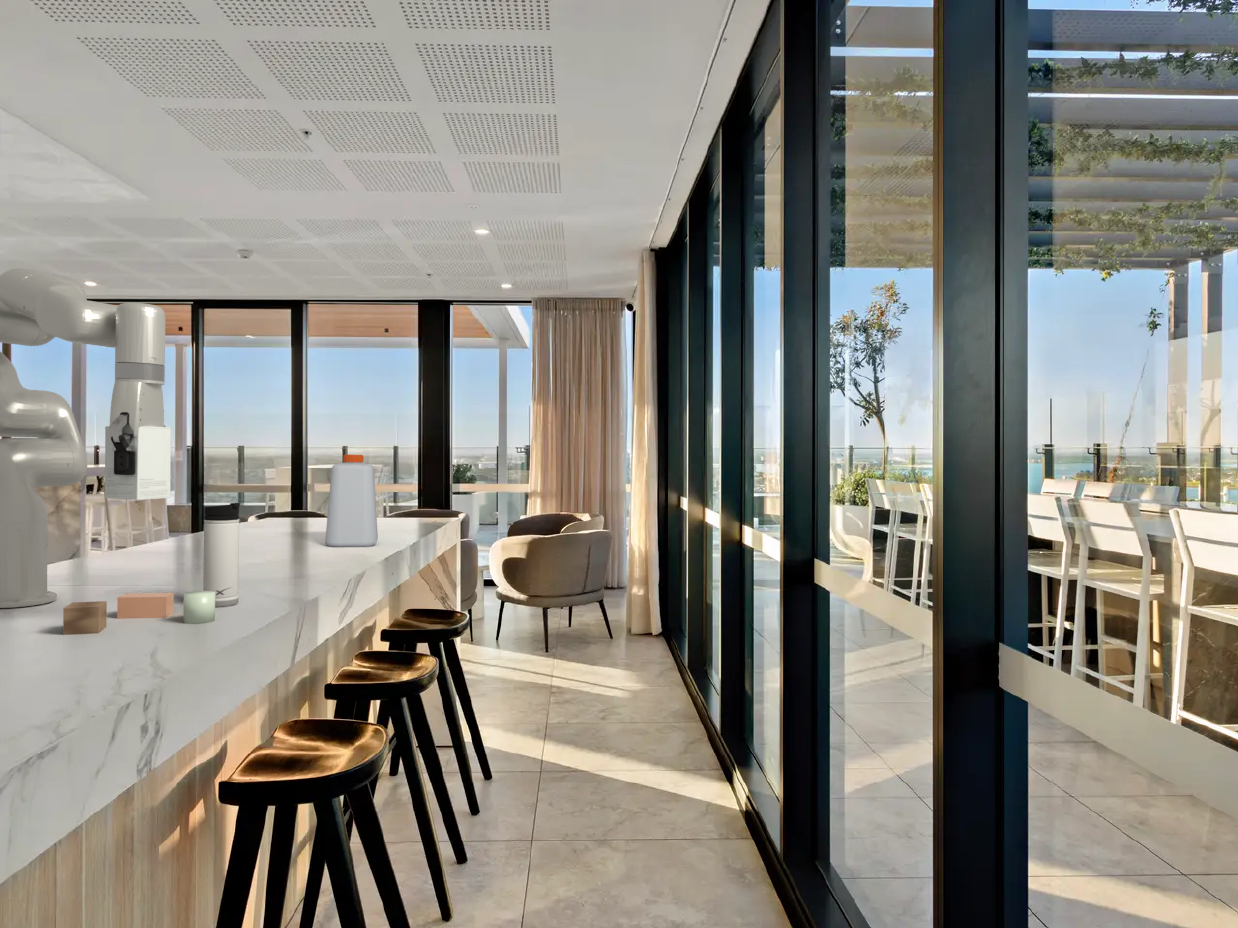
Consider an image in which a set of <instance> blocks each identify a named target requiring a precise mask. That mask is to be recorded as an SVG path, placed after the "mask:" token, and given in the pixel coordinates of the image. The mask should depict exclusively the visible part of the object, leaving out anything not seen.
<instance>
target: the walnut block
mask: <svg viewBox="0 0 1238 928" xmlns="http://www.w3.org/2000/svg"><path fill="white" fill-rule="evenodd" d="M107 602H108V601H107V600H103V601H100V600H99V601H97V600H96V601H76V602H75V601H73V602H71V603H69V604H67V605H66V606H65V607H63V615H62V616H63V618H62V619H63V620H62V621H63V622H62V624H63V625H62V628H63V629H62V633H63V635H62V636H68V635H69V636H71V635H91V634H92V635H93V634H99V633H101V632H102V631H103V630H104V629H106V628H107V613H108V612H107V611H108V609H107V605H108V603H107Z"/></svg>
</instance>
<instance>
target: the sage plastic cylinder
mask: <svg viewBox="0 0 1238 928" xmlns="http://www.w3.org/2000/svg"><path fill="white" fill-rule="evenodd" d="M182 610H183V615H182V616H183V619H182V622H183V624H186V625H199V624H200V625H202V624H203V625H204V624H208V623H213V622H214V621H216V607H215V592H214V591H203V590H194V591H188V592H187V591H186V592H184V593H183V609H182Z"/></svg>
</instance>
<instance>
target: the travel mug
mask: <svg viewBox="0 0 1238 928" xmlns="http://www.w3.org/2000/svg"><path fill="white" fill-rule="evenodd" d="M240 506H241V503H240V502H230V504H225V505H223V504H222V505H214V506H213V505H212V506H204V508H203V509H204V513H203V514H204V517H203V518H204V519H203V522H204V523H203V565H202V566H203V568H202V570H203V571H202V573H203V574H202V575H203V576H202V577H203V578H202V581H203V582H202V584H203V585H202V591H214V592H215V608H224V607H233V606H236V605H238V604H239V593H240V592H239V586H240V585H239V584H240V583H239V582H240V581H239V580H240V579H239V578H240V577H239V576H240V571H239V569H240V515H239V514H240Z"/></svg>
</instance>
